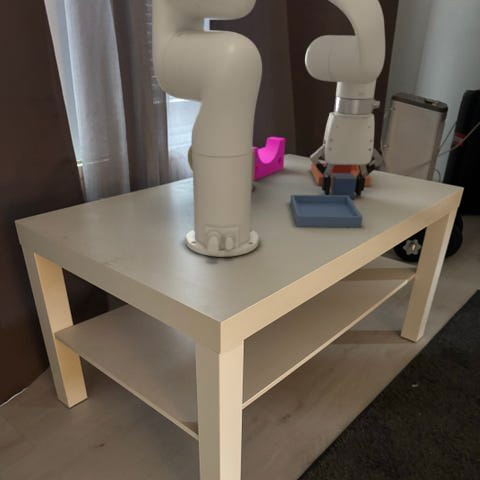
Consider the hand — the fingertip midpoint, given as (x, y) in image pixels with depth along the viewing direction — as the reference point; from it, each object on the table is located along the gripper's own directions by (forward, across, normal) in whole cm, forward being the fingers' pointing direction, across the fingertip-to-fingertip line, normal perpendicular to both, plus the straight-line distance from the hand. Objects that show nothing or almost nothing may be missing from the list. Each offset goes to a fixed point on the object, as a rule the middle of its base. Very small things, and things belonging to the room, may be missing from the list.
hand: (342, 193), depth 107 cm
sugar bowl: (+1, +26, -4) cm, 26 cm away
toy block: (+1, +18, -19) cm, 26 cm away
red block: (0, -2, -14) cm, 15 cm away
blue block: (+1, 0, 0) cm, 1 cm away
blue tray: (+1, +6, +12) cm, 14 cm away
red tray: (+1, -2, -14) cm, 15 cm away
